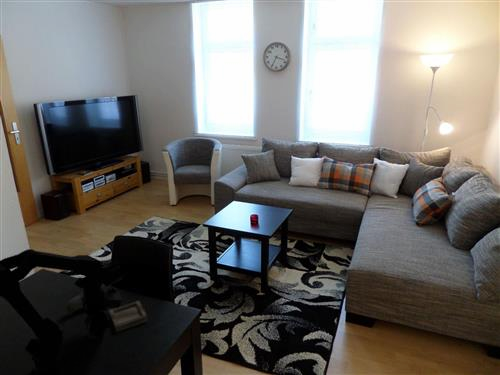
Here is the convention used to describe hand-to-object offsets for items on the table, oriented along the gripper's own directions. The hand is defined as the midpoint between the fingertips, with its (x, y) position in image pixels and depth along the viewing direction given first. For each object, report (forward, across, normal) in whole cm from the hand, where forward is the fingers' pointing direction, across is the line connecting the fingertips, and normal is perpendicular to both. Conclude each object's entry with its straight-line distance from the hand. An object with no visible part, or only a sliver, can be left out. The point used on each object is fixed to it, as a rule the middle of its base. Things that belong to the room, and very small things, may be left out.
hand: (98, 332), depth 115 cm
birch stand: (+2, +5, -11) cm, 12 cm away
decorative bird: (+2, +21, 0) cm, 21 cm away
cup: (+2, 0, 0) cm, 2 cm away
